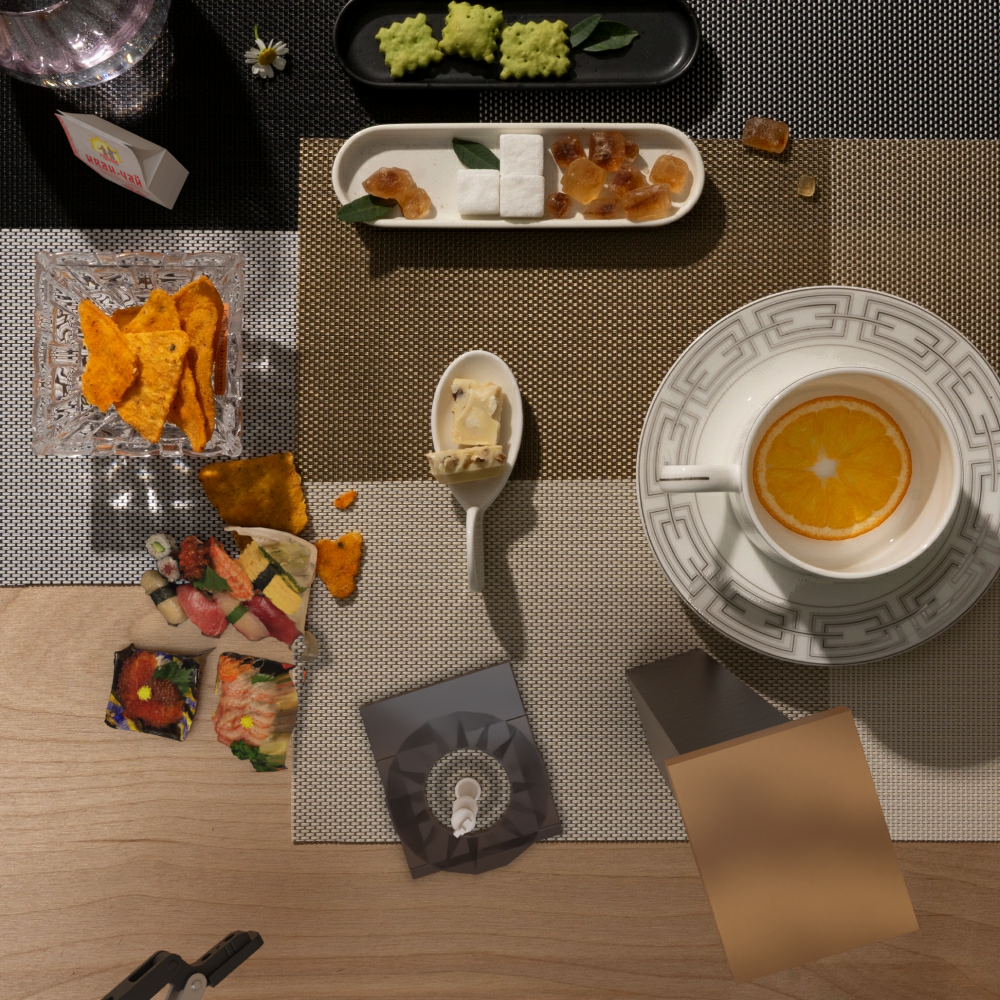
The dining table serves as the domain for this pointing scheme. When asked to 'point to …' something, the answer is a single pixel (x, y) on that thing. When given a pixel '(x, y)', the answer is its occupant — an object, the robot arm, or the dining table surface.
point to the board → (447, 728)
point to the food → (235, 599)
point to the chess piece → (465, 806)
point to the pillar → (694, 705)
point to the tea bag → (125, 157)
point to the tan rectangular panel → (791, 844)
